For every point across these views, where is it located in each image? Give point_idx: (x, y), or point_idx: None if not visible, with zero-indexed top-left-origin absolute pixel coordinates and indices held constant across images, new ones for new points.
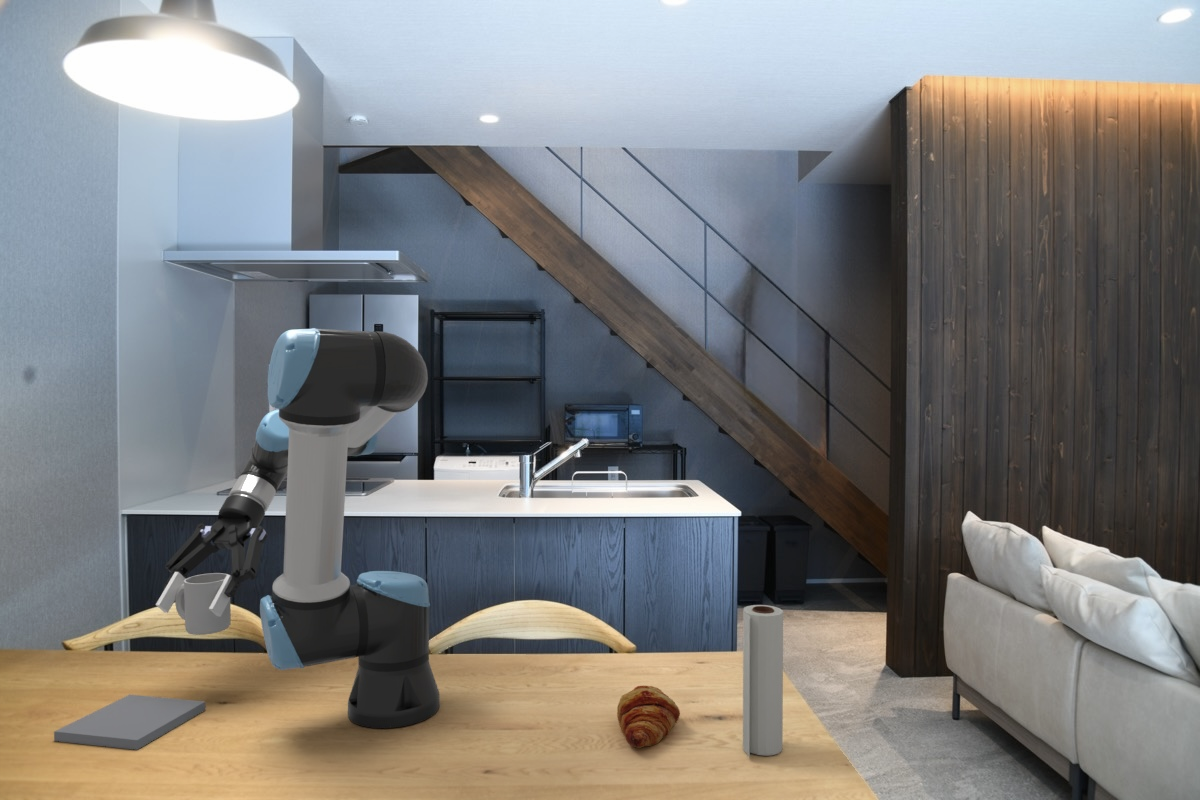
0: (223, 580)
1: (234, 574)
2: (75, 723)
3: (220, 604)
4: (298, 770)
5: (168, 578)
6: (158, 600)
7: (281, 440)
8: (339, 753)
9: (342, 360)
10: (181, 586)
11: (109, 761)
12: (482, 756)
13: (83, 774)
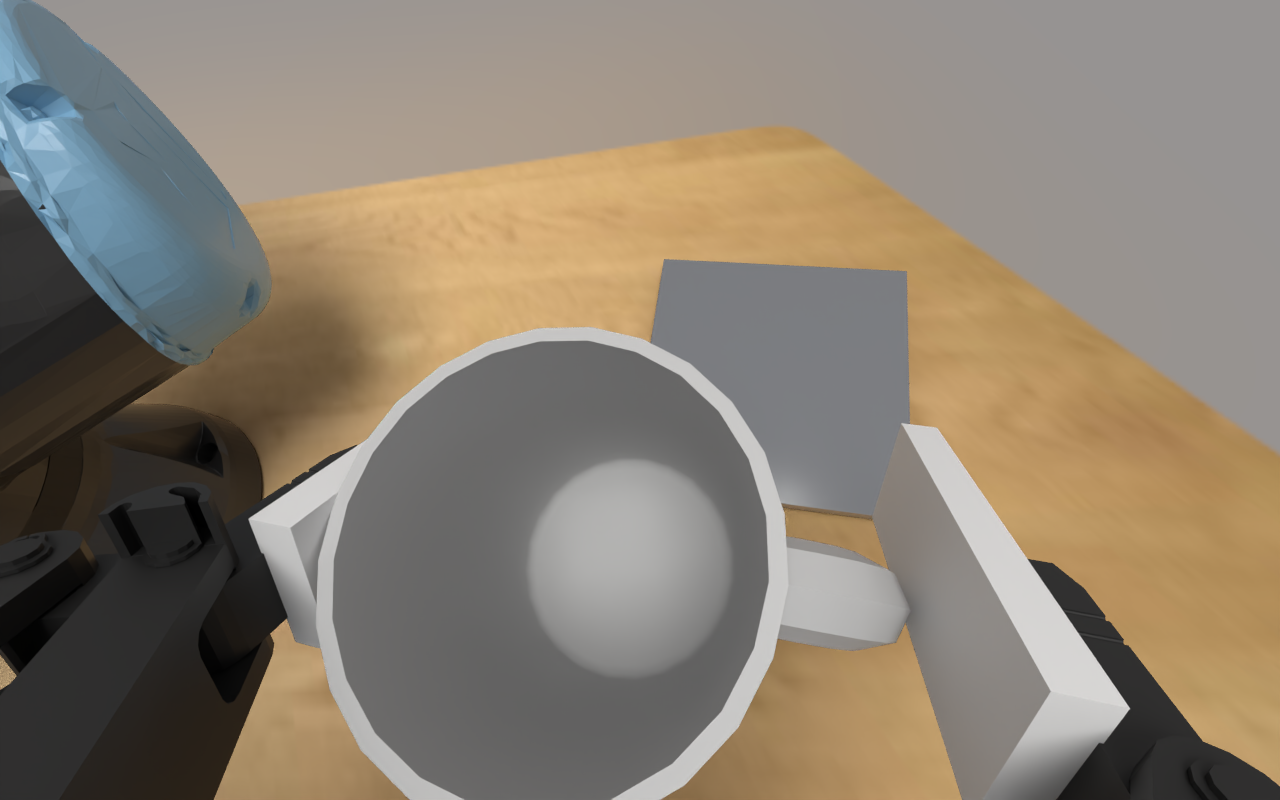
0: (347, 481)
1: (196, 512)
2: (893, 316)
3: None
4: (327, 245)
5: (1154, 681)
6: (945, 444)
7: None
8: (266, 309)
9: None
10: (846, 555)
11: (690, 226)
12: None
13: (703, 181)
